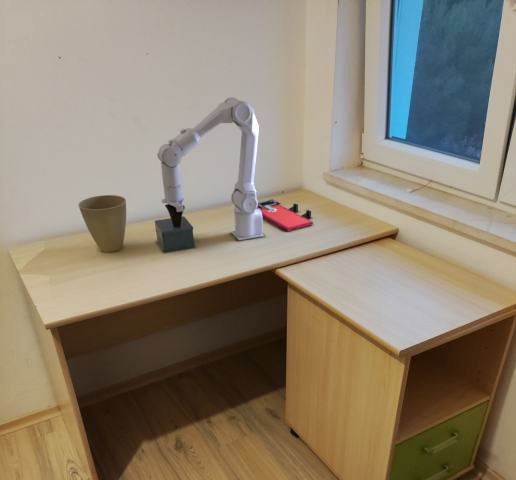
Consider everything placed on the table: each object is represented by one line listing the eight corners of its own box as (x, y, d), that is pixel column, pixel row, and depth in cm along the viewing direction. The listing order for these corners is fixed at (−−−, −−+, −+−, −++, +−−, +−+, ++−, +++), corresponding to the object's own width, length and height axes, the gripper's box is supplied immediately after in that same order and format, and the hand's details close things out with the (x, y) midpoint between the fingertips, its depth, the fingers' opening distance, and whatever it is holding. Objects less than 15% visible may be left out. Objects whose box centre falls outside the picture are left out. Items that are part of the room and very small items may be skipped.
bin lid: (193, 229, 166) (193, 227, 166) (162, 234, 163) (162, 231, 162) (184, 218, 175) (184, 216, 174) (154, 222, 172) (154, 220, 171)
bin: (194, 247, 171) (192, 228, 167) (164, 252, 167) (161, 233, 164) (186, 236, 179) (184, 218, 175) (157, 241, 175) (154, 222, 172)
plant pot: (139, 240, 176) (132, 195, 167) (123, 258, 164) (115, 210, 155) (99, 238, 178) (90, 193, 169) (80, 255, 166) (70, 208, 157)
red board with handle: (276, 200, 209) (245, 208, 202) (276, 193, 207) (244, 201, 201) (320, 223, 188) (287, 232, 182) (321, 216, 186) (287, 225, 180)
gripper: (154, 180, 163) (160, 220, 171) (165, 193, 152) (170, 235, 160) (176, 177, 165) (180, 217, 173) (188, 190, 154) (191, 232, 162)
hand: (176, 226), depth 167 cm, fingers closed, pressing on bin lid
